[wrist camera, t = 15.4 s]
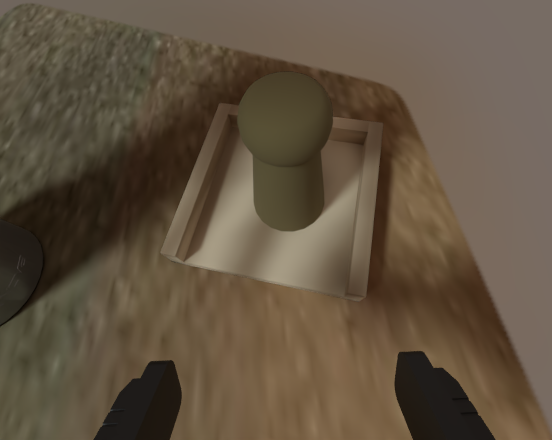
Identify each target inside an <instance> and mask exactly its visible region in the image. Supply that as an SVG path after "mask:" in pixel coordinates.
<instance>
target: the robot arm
mask: <svg viewBox="0 0 552 440" xmlns="http://www.w3.org/2000/svg"><path fill="white" fill-rule="evenodd" d="M42 267H43V253H42V248H41V245H40V243H39V241H38V239H37V238H36V237H35V236H34V235H33V234H32V233H31V232H29V231H27V230H25V229H23V228H21V227H19V226H16V225H14V224H12V223H9V222H7V221H4V220H2V219H0V325H1V324H2V323H4V322H6V321H7V320H8V319H9V318H10V317H12V316H13V315H14V314H15V313H16V312H17V311H18V310H19V309H20V308H21V307H22V306H23V305H24V304H25V302H26V301H27V300H28V298H29V297H30V295H31V294H32V292H33V291H34V289H35V287H36V285H37V283H38V280H39V278H40V275H41V271H42ZM395 393H396V397H397V400H398V403H399V406H400V408H401V411H402V413H403V416H404V418H405V421H406V423H407V426H408V428H409V431H410V433H411V436H412V438H413V440H495V438H494V436H493V435H492V433H491V432H490V430H489V429H488V427H487V426H486V424H485V423H484V421H483V420H482V418H481V417H480V416H479V415H478V412H477V410H476V409H475V407H474V406H473V404H472V403H471V401H469V399H468V397H467V395H466V393H465V392H464V390H463V389H462V387H461V386H460V384H459V383H458V381H457V380H456V379H454V378H453V377H452V376H451V375H450V374H449V373H448V372H447V371H445V370H444V369H443V368H433V366H432V365H431V363H430V361H429V360H428V358H427V356H426V355H425V353H424V352H422V351H413V352H399V354H398V359H397V367H396V374H395ZM181 398H182V392H181V387H180V383H179V379H178V375H177V372H176V368H175V364H174V362H173V361H172V360H170V361H151V362H150V363H149V364H148V365H147V367H146V369H145V371H144V372H143V374H142V376H141V378H138V379H132V381H131V382H130V383H129V384H128V385H127V386H126V387H125V388H124V389H123V390H122V391H121V392H120V393H119V395H118V397H117V399H116V400H115V402H114V404H113V406H112V408H111V411H110V413H108V415H107V417H106V418H105V420H104V422H103V426H102V427H100V429H99V431H98V433H97V435H96V436H95V438H94V440H170V437H171V434H172V431H173V428H174V425H175V422H176V419H177V415H178V412H179V409H180V405H181Z"/></svg>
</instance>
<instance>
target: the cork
mask: <svg viewBox="0 0 552 440" xmlns="http://www.w3.org/2000/svg"><path fill="white" fill-rule="evenodd" d="M237 124H238V128H239V131H240V135H241V138H242V142H243V143H244V144H245V146H246V147H247V148H248V150H249V151H250V152H251V154H252V155H253V198H254V206H255V210H256V213H257V215H258V216H259V217H260V219H261V220H262V222H264V223H265V224H267V225H268V226H269V227H271V228H273V229H276V230H279V231H289V232H294V231H298V230H301V229H305V228H306V227H308V226H309V225H311V224H313V223H314V222H315V221H316V220H317V218H318V217H319V216H320V215H321V213H322V210H323V207H324V184H323V172H322V159H321V150H322V149H323V148H324V146H325V144H326V143H327V141H328V138H329V135H330V133H331V130H332V125H333V109H332V103H331V101H330V99H329V97H328V95H327V93H326V91H325V90H324V88H323V87H322V86H321V85H320V84H319V83H318V82H317V81H316V80H315V79H313V78H311V77H309V76H307V75H305V74H301V73H297V72H276V73H272V74H268V75H266V76H264V77H262V78H260V79H258V80H256V81H255V82H254V83H253V84H252V85H251V86H250V87H249V88H248V89H247V90H246V92H245V94H244V96H243V98H242V100H241V101H240V103H239V108H238V117H237Z"/></svg>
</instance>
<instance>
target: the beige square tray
mask: <svg viewBox="0 0 552 440" xmlns="http://www.w3.org/2000/svg"><path fill="white" fill-rule="evenodd" d="M238 108H239V105H234V104H225V103H219V106H218V108H217V111H216V113H215V116H214V118H213V121H212V123H211V126H210V128H209V131H208V133H207V136H206V138H205V141H204V144H203V146H202V149H201V151H200V154H199V156H198V159H197V161H196V164H195V166H194V169H193V171H192V174H191V176H190V179H189V181H188V184H187V186H186V189H185V191H184V194H183V197H182V199H181V202H180V204H179V207H178V209H177V212H176V214H175V217H174V219H173V222H172V224H171V227H170V229H169V232H168V234H167V237H166V239H165V242H164V244H163V247H162V250H161V252H160V253H161V254H162V255H164V256H165V257H167V258H168V259H170V260H171V261H173V262H176V263H181V264H185V265H190V266H195V267H199V268H204V269H209V270H213V271H218V272H223V273H227V274H232V275H236V276H241V277H246V278H250V279H255V280H260V281H264V282H269V283H274V284H278V285H283V286H288V287H292V288H297V289H302V290H306V291H311V292H316V293H320V294H325V295H329V296H334V297H339V298H343V299H348V300H353V301H357V302H359V301H361V300H362V299H364V298H365V297H366V294H367V284H368V274H369V264H370V254H371V244H372V234H373V223H374V213H375V203H376V193H377V183H378V173H379V163H380V153H381V143H382V132H383V123H381V122H372V121H364V120H356V119H348V118H340V117H333V125H332V130H331V133H330V135H329V138H328V141H327V143H326V144H325V146H324V148H323V149H322V150H321V159H322V172H323V184H324V207H323V210H322V213H321V215H320V216H319V217H318V218H317V220H316V221H315V222H314V223H313V224H311V225H309V226H308V227H306V228H305V229H301V230H298V231H294V232H289V231H279V230H276V229H273V228H271V227H269V226H268V225H267V224H265V223H264V222H262V220H261V219H260V217H259V216H258V215H257V213H256V210H255V206H254V198H253V155H252V154H251V152H250V151H249V150H248V148H247V147H246V146H245V144H244V143H243V142H242V138H241V135H240V131H239V128H238V124H237V117H238Z"/></svg>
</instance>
